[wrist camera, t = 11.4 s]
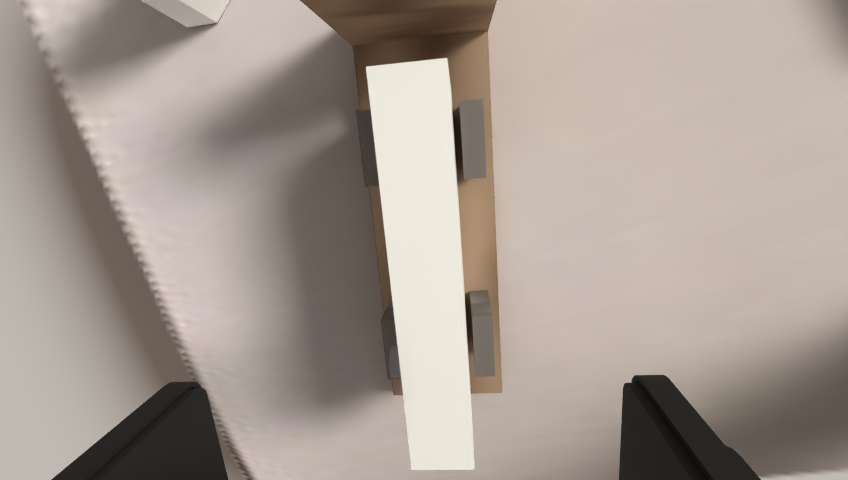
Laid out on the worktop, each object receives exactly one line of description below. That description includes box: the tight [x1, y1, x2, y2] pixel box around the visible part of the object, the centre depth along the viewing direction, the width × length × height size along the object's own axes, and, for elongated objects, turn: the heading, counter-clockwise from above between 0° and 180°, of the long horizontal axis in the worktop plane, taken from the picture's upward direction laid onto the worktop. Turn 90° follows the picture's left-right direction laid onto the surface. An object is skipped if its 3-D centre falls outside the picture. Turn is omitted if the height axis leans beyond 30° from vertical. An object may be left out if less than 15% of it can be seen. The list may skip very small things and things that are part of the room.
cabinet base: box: [300, 0, 502, 395], centre depth 21 cm, size 8×26×14 cm, turn 5°
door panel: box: [366, 58, 475, 470], centre depth 22 cm, size 4×18×10 cm, turn 5°
